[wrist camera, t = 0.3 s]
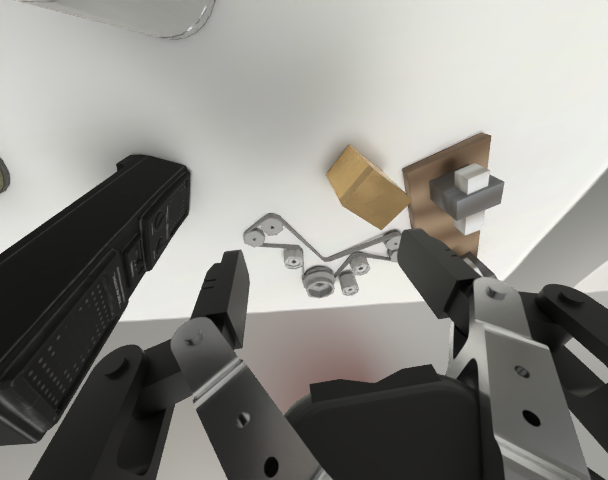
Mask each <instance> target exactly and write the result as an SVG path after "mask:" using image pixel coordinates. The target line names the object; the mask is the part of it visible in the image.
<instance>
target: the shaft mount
mask: <svg viewBox="0 0 608 480" xmlns="http://www.w3.org/2000/svg"><path fill="white" fill-rule="evenodd" d="M490 142H491V135H488V134H484V133H480V134H478V135H475V136H473V137H471V138H469V139H467V140H464V141H462V142H460V143H458V144H456V145H454V146H451V147H449V148H447V149H445V150H443V151H441V152H438V153H436V154H434V155H432V156H430V157H427V158H425V159H423V160H421V161H419V162H417V163H414V164H412V165H410V166H408V167H406V168H404V169H403V176H404V182H405V189H406V194H407V195H408V196H409V197H410V198H411V199H412V200H413V201H412V202H411V203H410V204H409V205H408V208H409V215H410V221H411V228H412V229H416V228H421V229H423V230H424V231H425V232H426V233H427V234H428V235H429V236H430V237H434V238H436V239H438V240H440V241H442V242H443V243H445V244H446V245H447V246H448V247H449V248H450V249H451V250H452V251H454V252H455V253H456V254H457V256H459V257H460V258H461V259H463V260H464V261H465V262H466V263H467V264H468V265H469V266H470V267H472V268H473V269H474V270H475V271H476V272H477V273H478V274H479V275H481V276H482V277H489V278H494V279H497V277H496V276H495V274H494V273H493V272H492V271H491V270H490V269H488V268H487V267H486V266H485V265H484V264H483V263H482V262H481V261H480V260H479V259H478V258H477V252H478V243H479V235H480V230H481V229H483V221H484V213H485V210H486V209H488V208H491V207H493V206H496V205H498V204H501V198H502V193H503V187H504V182H503V181H501V180H499V179H497V178H495V177H493V176H491V175H489V174H490V170H488V169H487V167H488V159H489V150H490Z"/></svg>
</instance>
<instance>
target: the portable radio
mask: <svg viewBox="0 0 608 480" xmlns="http://www.w3.org/2000/svg"><path fill="white" fill-rule="evenodd" d="M116 165H117V172H116V173H114V174H113V175H112V176H110V177H109V178H108V179H106V180H105V181H103V182H102V183H100V184H99V185H98V186H96V187H95V188H93V189H92V190H90V191H89V192H88V193H86V194H85V195H83V196H82V197H81V198H79V199H78V200H76V201H75V202H73V203H72V204H71V205H69V206H68V207H66V208H65V209H63V210H62V211H61V212H59V213H58V214H56V215H55V216H54V217H52V218H51V219H49V220H48V221H46V222H45V223H44V224H42V225H41V226H39V227H38V228H36V229H35V230H34V231H32V232H31V233H29V234H28V235H27V236H25V237H24V238H22V239H21V240H19V241H18V242H17V243H15V244H14V245H12V246H11V247H9V248H8V249H7V250H5V251H4V252H2V253H1V254H0V446H4V445H17V444H32V443H37V442H38V441H40V440H41V439H42V437H43V436H44V435H45V433H46V432H47V430H49V429H50V428H52V427H53V426H54V425H55V424H56V423H57V422H58V421H59V419H60V418H61V416H62V414H63V413H64V411H65V409H66V408H67V406H68V404H69V403H70V401H71V399H72V398H73V395H74V394H75V393H76V391H77V389H78V387H79V386H80V384H81V382H82V380H83V379H84V377H85V376H86V374H87V372H88V371H89V369H90V367H91V366H92V364H93V362H94V361H95V359H96V357H97V356H98V354H99V352H100V351H101V349H102V347H103V346H104V344H105V342H106V341H107V339H108V337H109V336H110V334H111V332H112V330H113V329H114V327H115V325H116V324H117V322H118V321H119V319H120V317H121V316H122V314H123V312H124V311H125V309H126V307H127V305H128V302H129V301H128V299H129V298H130V296H131V295H132V293H133V291H134V290H135V288H136V286H137V285H138V283H139V282H140V280H141V279H142V277H143V275H144V274H145V272H147V271H150V270H152V269H153V267H154V265H155V264H156V262H157V261H158V259H159V257H160V256H161V254H162V253H163V251H164V250H165V248H166V246H167V245H168V243H169V242H170V240H171V238H172V237H173V235H174V234H175V233H176V231H177V230H178V228H179V227H180V225H181V224H182V222H183V221H184V220H185V218H186V217H187V216H188V213H189V196H190V173H189V172H188V171H187V168H186V166H184V165H181V164H177V163H174V162H170V161H166V160H163V159H159V158H155V157H152V156H146V155H130V156H128V157H126V158H125V159H123V160H122V161H120V162H119V163H117V164H116Z"/></svg>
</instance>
